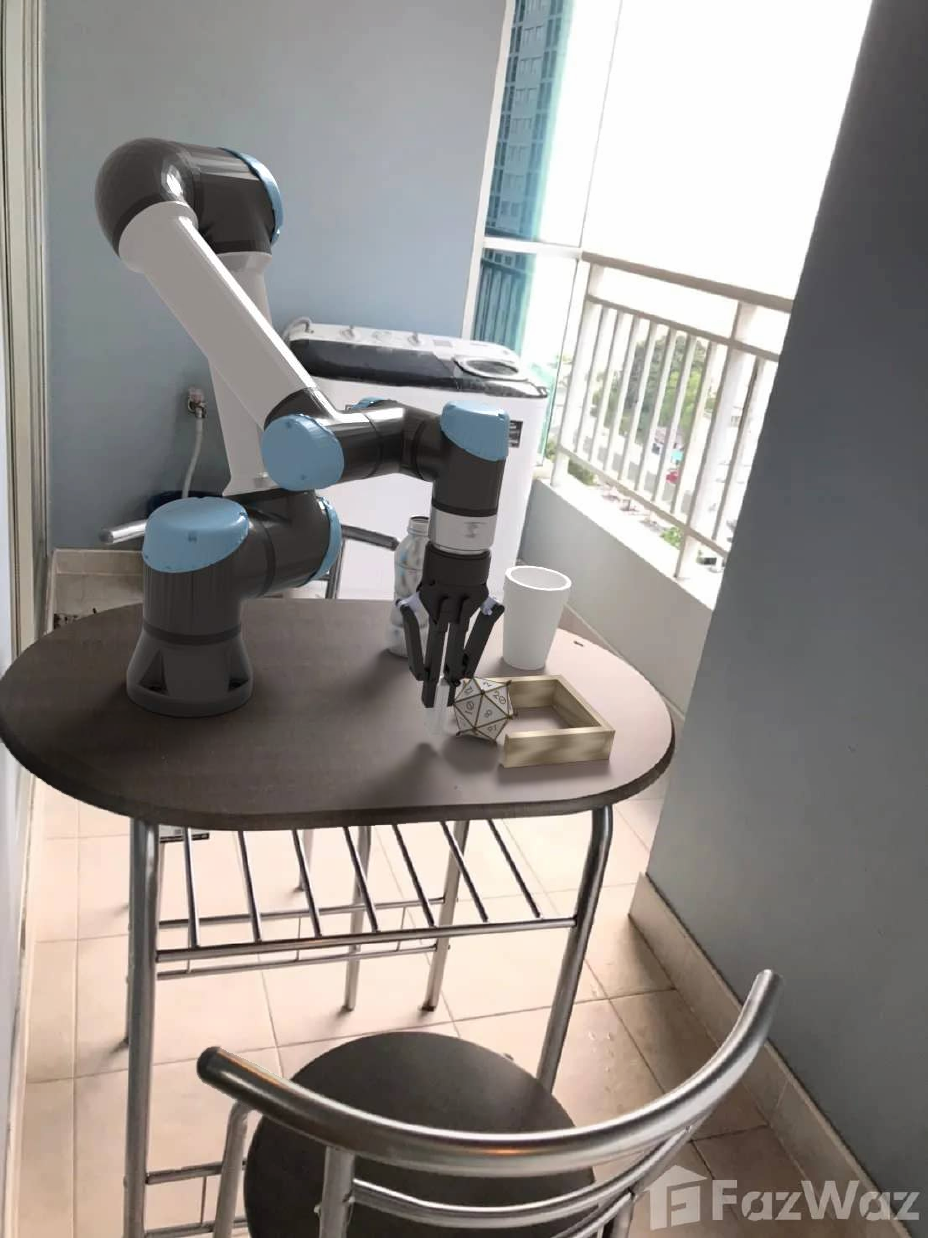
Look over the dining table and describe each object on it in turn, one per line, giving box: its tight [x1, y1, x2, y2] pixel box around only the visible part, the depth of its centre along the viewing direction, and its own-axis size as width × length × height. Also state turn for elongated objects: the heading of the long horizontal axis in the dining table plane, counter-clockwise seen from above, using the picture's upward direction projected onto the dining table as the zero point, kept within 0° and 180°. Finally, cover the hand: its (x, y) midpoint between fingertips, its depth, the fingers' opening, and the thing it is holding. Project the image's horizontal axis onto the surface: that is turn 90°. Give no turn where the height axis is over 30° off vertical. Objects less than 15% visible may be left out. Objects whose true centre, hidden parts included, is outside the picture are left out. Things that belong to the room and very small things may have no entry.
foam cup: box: [502, 565, 572, 671], centre depth 145 cm, size 10×9×13 cm
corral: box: [461, 674, 616, 769], centre depth 127 cm, size 14×15×4 cm
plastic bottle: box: [384, 514, 430, 658], centre depth 140 cm, size 6×7×20 cm
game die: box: [452, 675, 520, 748], centre depth 123 cm, size 9×8×10 cm
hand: (433, 729), depth 121 cm, fingers closed
